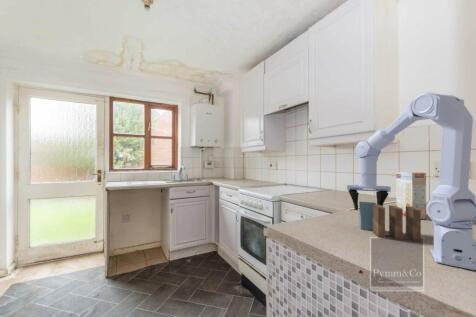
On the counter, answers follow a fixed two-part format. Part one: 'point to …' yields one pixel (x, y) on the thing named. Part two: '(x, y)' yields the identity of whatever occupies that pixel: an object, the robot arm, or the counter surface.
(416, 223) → the domino
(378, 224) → the domino
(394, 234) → the domino
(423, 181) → the cracker box
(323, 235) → the counter surface
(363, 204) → the domino
